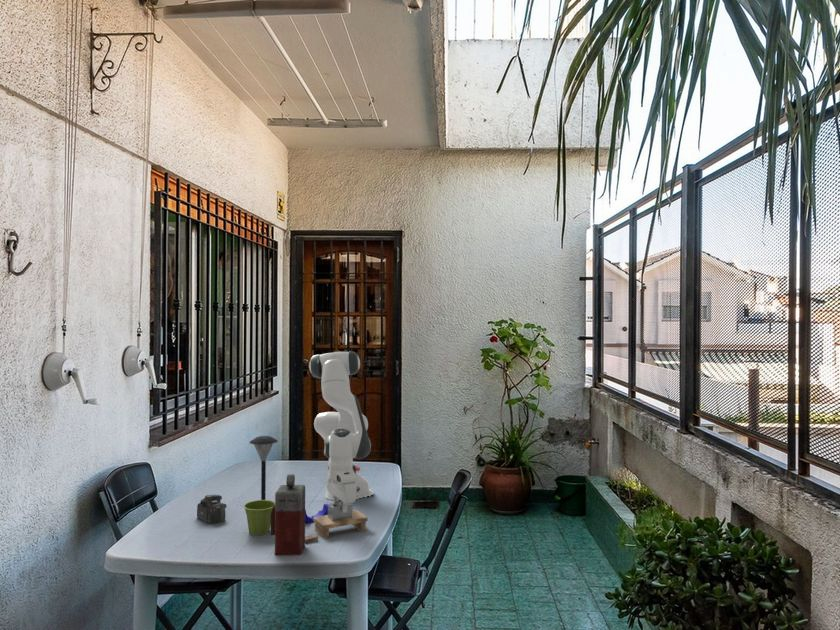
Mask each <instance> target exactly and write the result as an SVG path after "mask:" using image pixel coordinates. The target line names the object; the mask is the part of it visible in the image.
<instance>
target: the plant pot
mask: <svg viewBox="0 0 840 630" xmlns="http://www.w3.org/2000/svg"><path fill="white" fill-rule="evenodd" d="M274 504H275V501H274V500H273V501H272V500H267V499H265V500H261V499H258V500H252V501H248V502H246V503H244V504H243V508H244V509H245V511H244V512H245V514H246V519H247V528H248V534H249V535H251V536H261V535H266V534H268V533H269V532H270V531H271V511H272V508H273V506H274Z"/></svg>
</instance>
